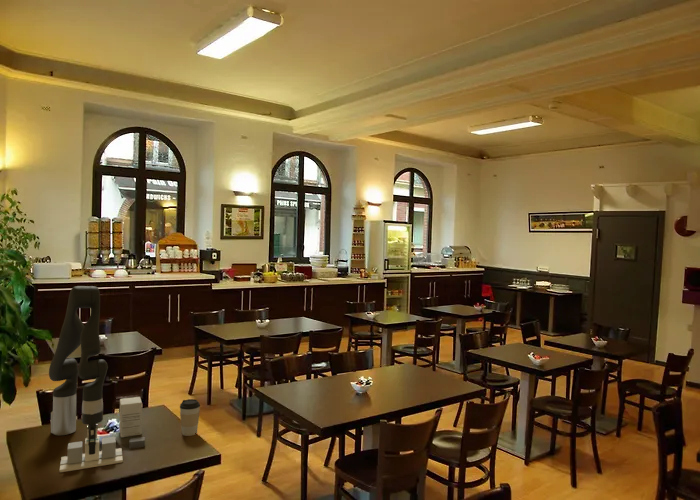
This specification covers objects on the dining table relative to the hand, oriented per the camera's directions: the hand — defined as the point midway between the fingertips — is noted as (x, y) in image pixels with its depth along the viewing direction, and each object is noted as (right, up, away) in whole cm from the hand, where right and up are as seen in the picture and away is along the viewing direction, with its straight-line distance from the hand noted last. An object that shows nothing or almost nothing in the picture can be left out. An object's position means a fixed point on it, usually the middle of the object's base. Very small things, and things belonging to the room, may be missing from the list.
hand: (92, 449), depth 203 cm
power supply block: (+12, -5, +15) cm, 20 cm away
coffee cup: (+29, -5, +31) cm, 43 cm away
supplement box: (+3, -4, +29) cm, 29 cm away
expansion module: (0, -3, 0) cm, 3 cm away
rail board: (0, -5, 0) cm, 4 cm away
